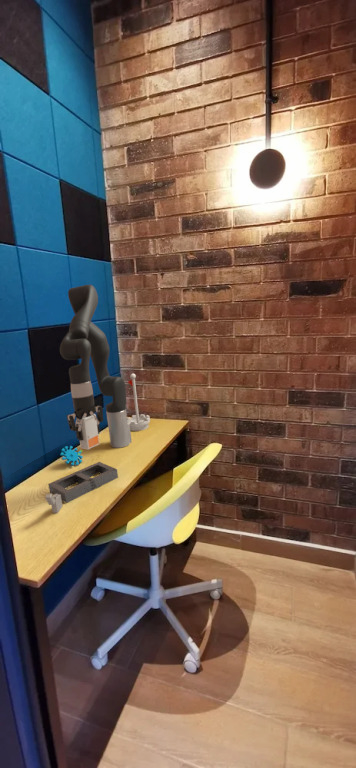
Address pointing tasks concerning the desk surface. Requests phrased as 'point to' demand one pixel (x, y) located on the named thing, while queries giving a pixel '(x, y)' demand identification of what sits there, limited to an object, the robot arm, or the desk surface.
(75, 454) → the blue virus model
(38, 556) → the desk surface
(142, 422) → the flag stand
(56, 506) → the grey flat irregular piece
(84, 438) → the skincare box
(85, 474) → the cinder block
